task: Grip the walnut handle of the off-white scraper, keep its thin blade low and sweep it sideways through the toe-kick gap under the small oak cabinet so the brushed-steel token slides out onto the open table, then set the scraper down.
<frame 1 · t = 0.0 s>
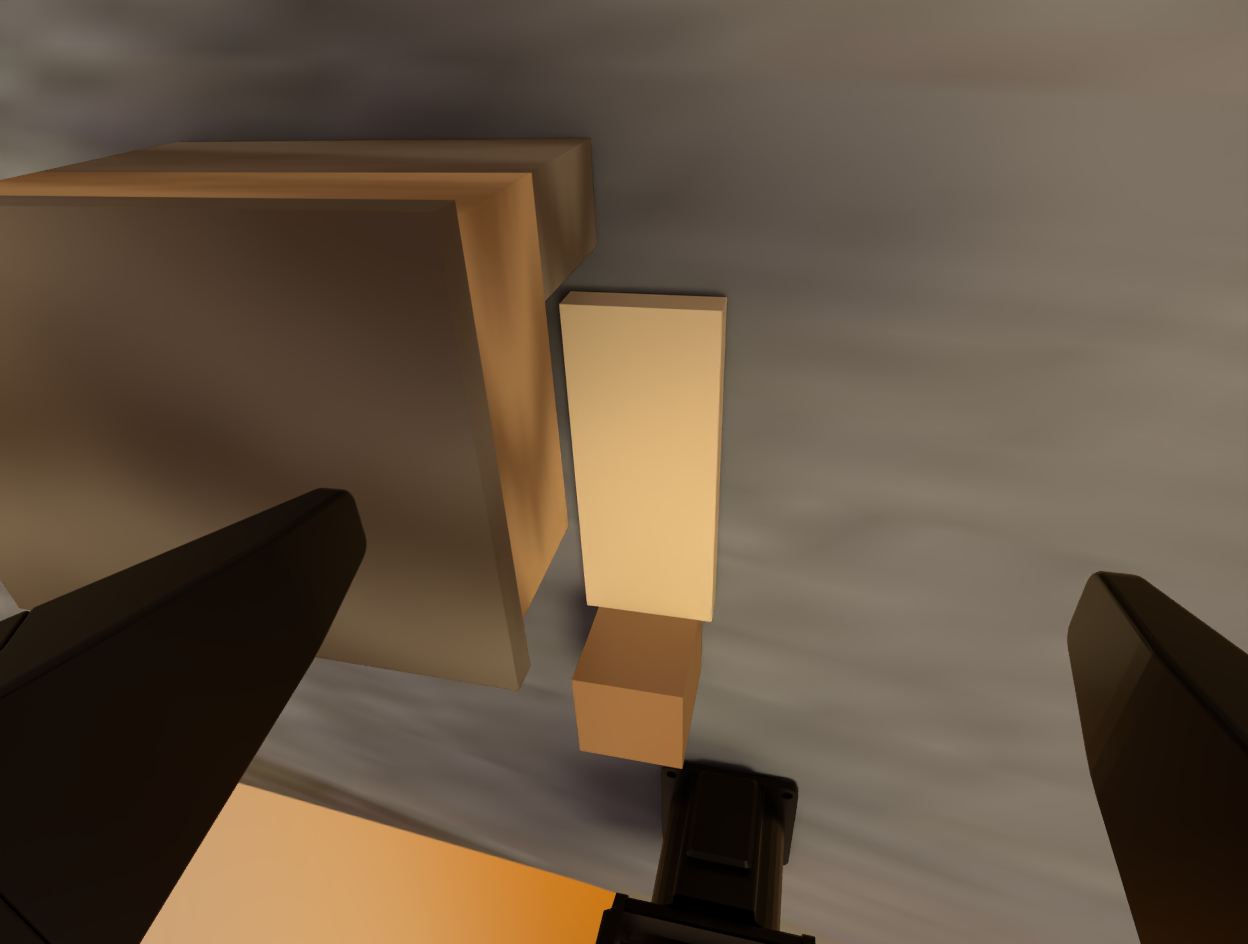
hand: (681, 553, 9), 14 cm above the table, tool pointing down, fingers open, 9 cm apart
cabinet: (402, 300, 24), on the table
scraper: (654, 628, 30), on the table
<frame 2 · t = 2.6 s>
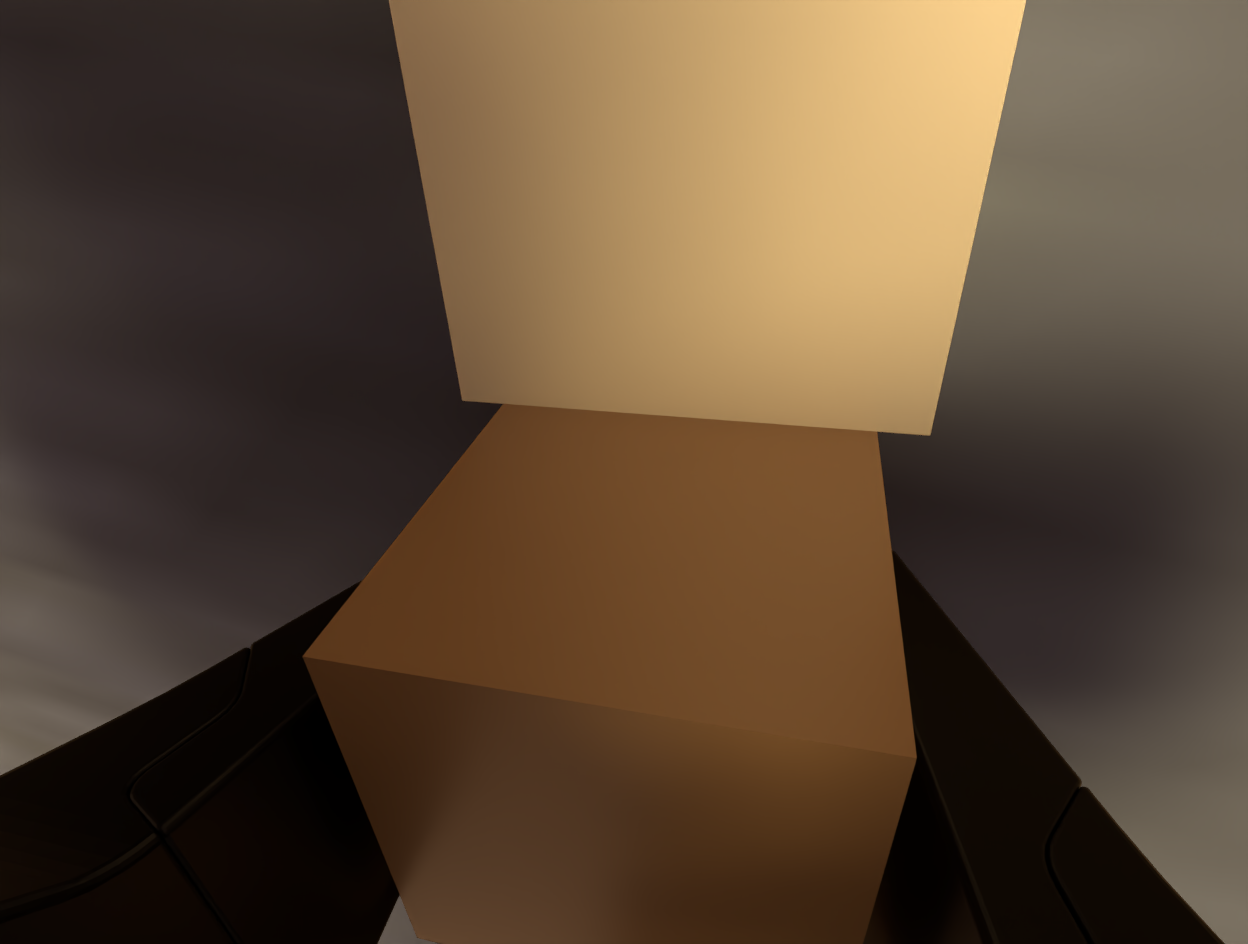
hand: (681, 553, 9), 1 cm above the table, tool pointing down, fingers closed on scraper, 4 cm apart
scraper: (694, 505, 10), on the table, touching gripper
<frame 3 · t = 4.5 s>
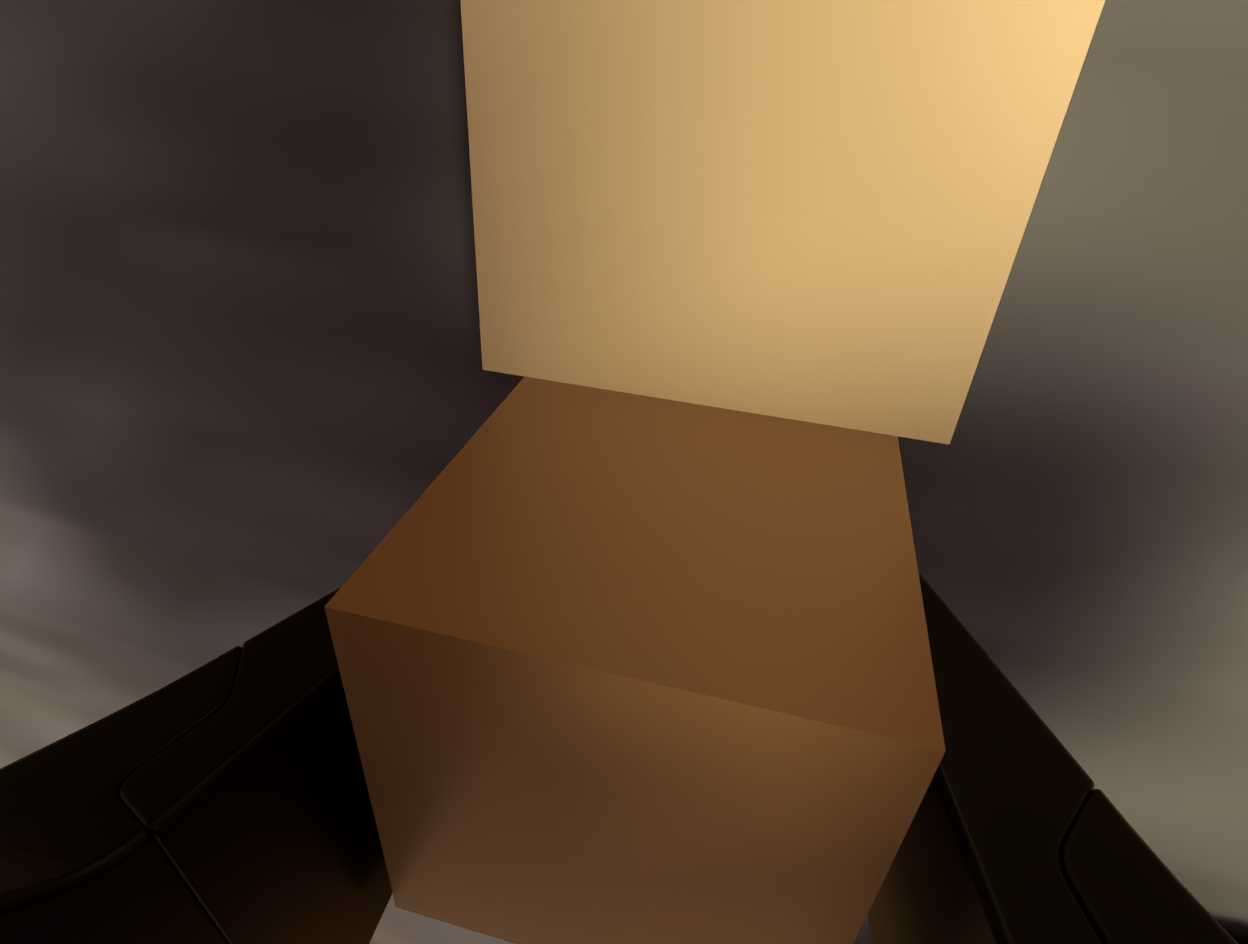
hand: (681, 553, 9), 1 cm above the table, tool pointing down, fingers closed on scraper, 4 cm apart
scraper: (699, 497, 10), on the table, touching gripper
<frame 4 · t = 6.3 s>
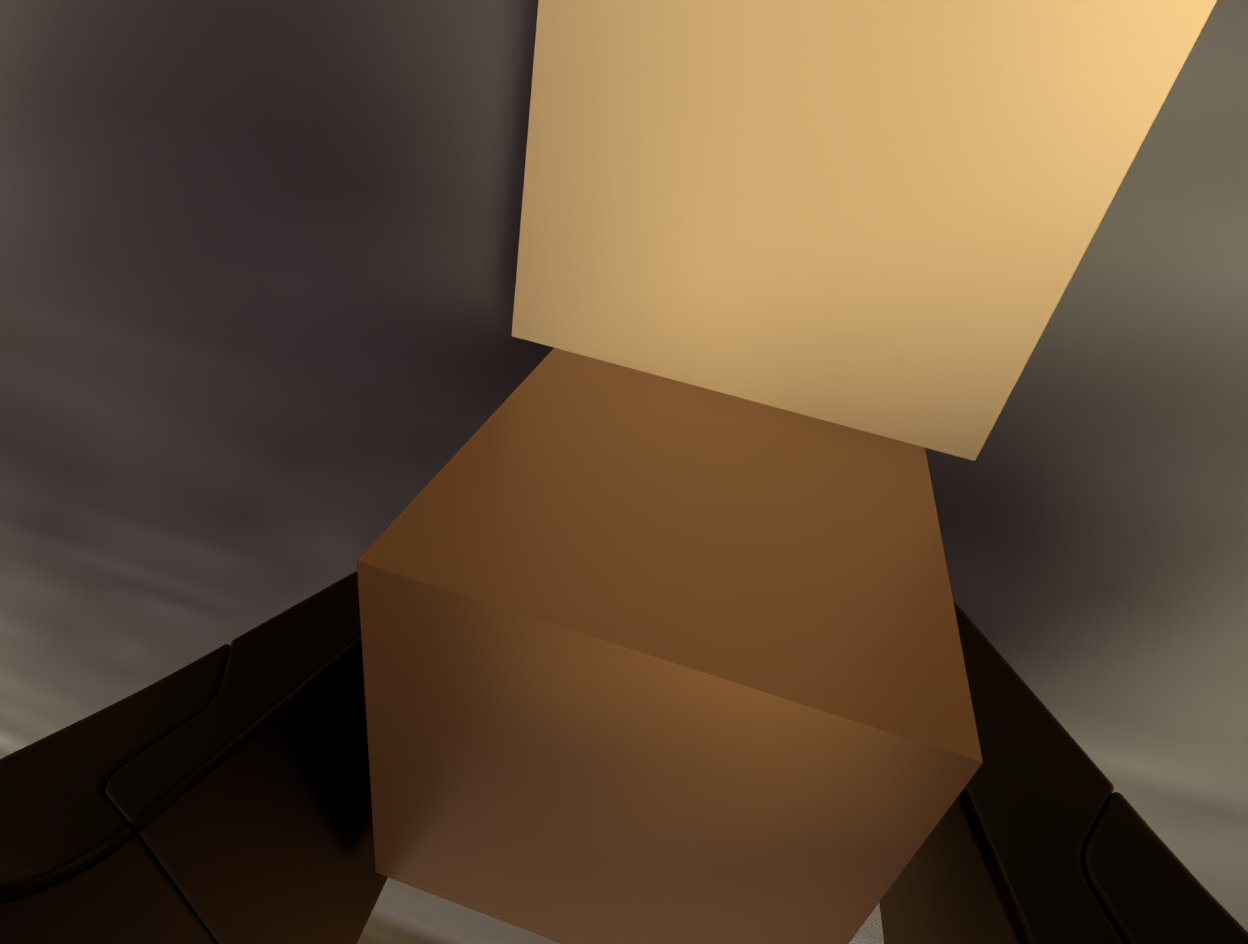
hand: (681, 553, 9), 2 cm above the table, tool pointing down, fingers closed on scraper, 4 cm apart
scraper: (708, 488, 10), on the table, touching gripper
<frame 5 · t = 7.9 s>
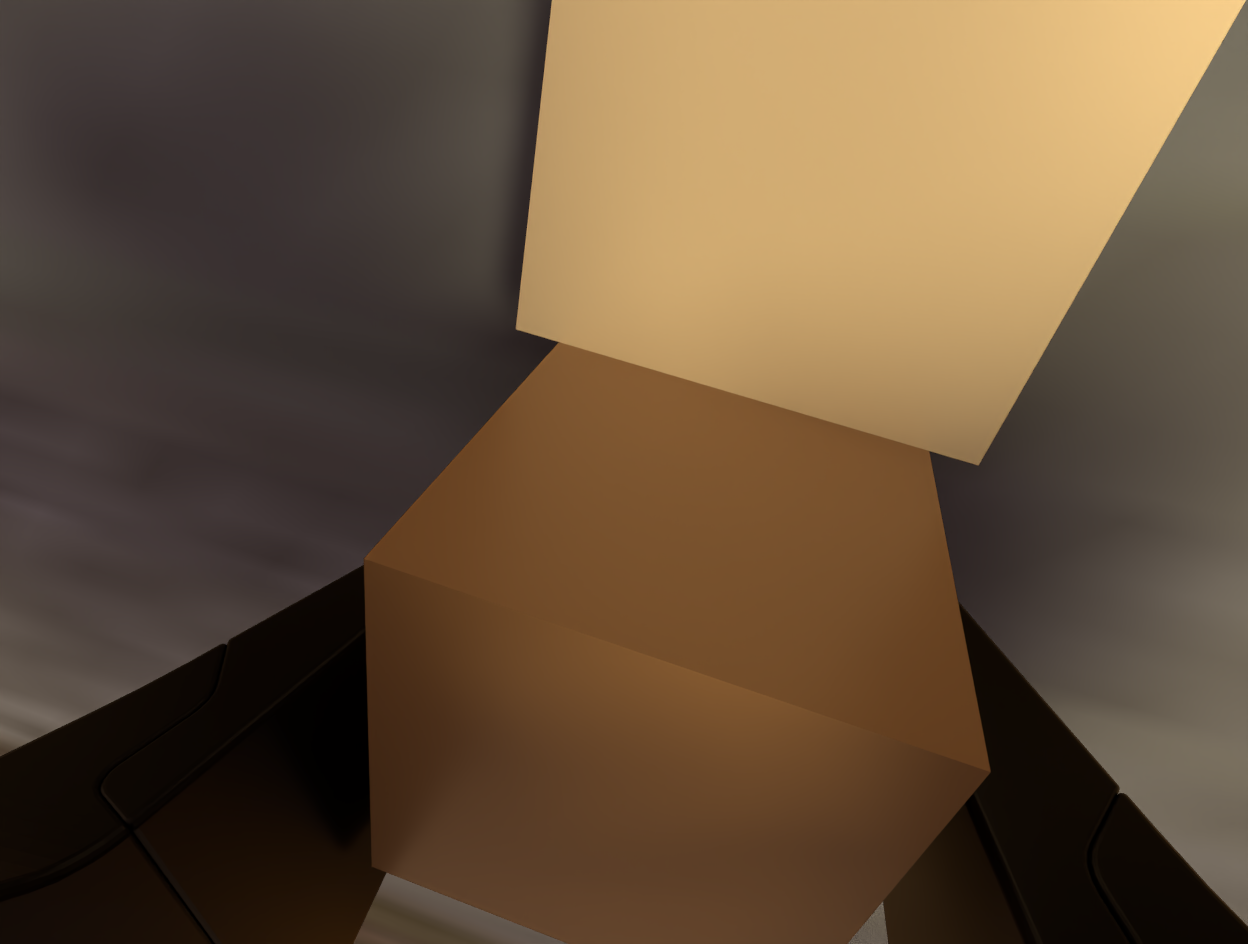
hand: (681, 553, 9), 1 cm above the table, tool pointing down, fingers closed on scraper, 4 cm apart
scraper: (708, 485, 10), on the table, touching gripper
when the fingers open (1 cm above the table, at t = 9.0 s): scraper stays where it is, on the table.
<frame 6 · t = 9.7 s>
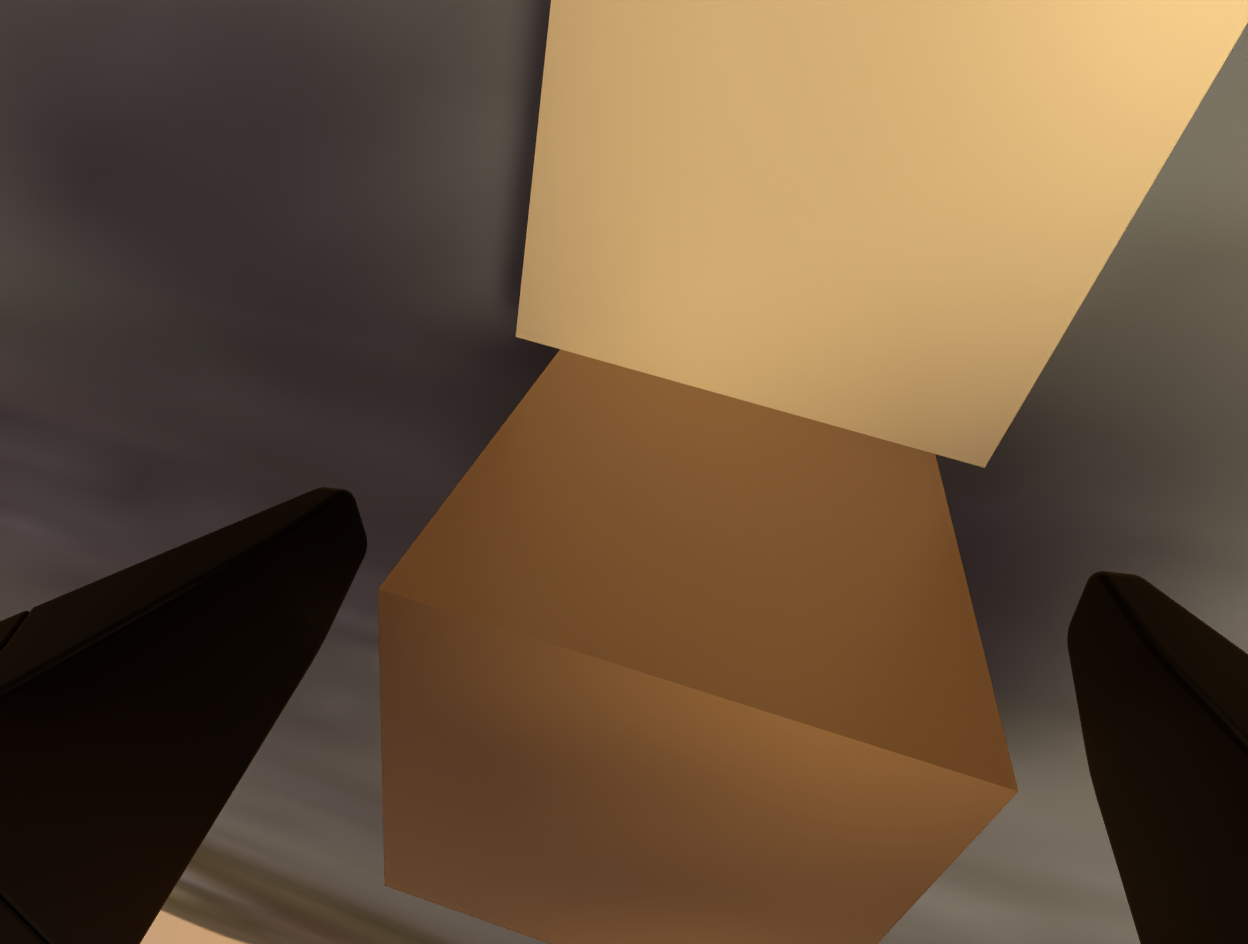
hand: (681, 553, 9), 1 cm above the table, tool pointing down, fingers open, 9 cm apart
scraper: (709, 487, 10), on the table
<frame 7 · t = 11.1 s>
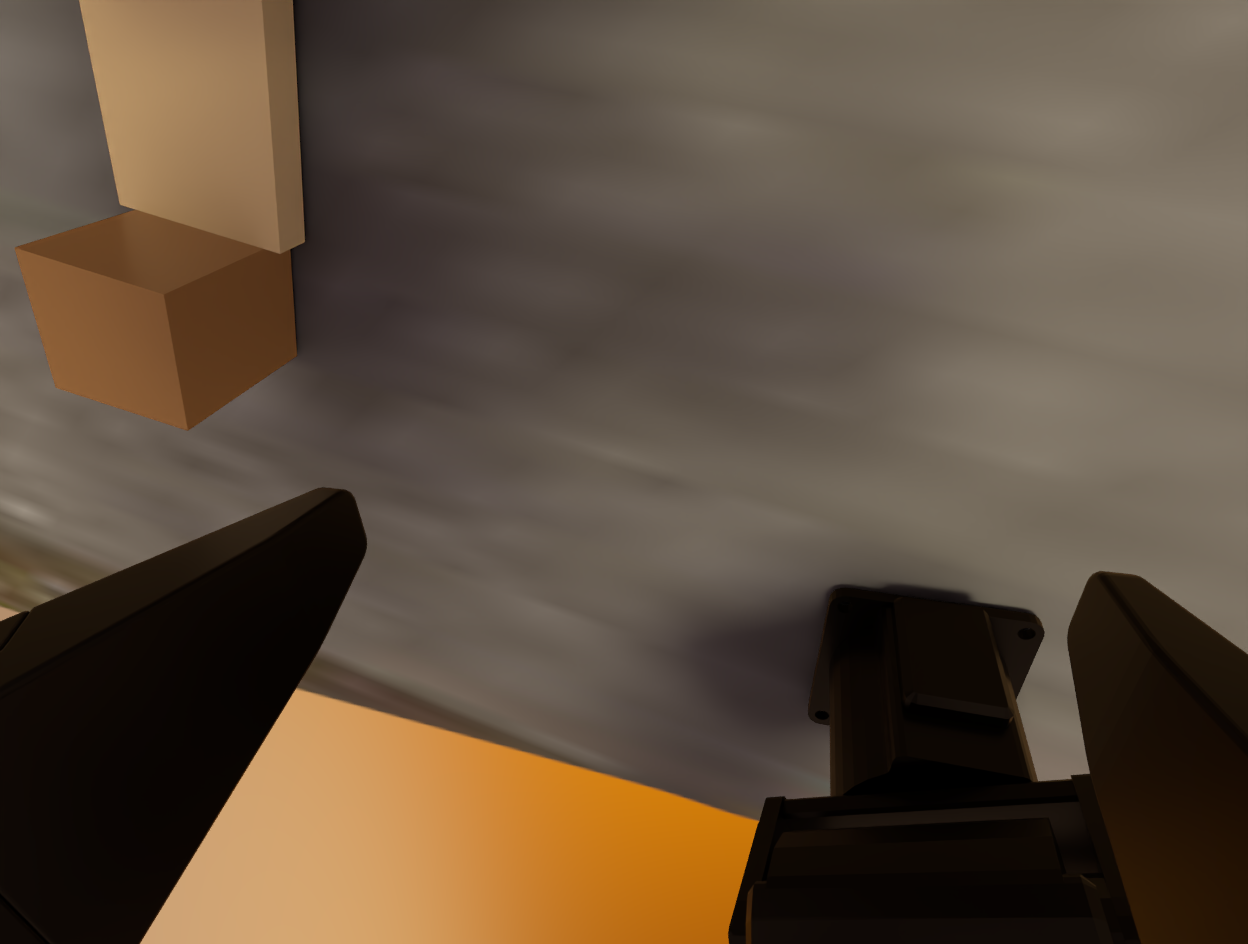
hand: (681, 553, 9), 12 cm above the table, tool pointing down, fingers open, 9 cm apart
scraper: (234, 281, 23), on the table
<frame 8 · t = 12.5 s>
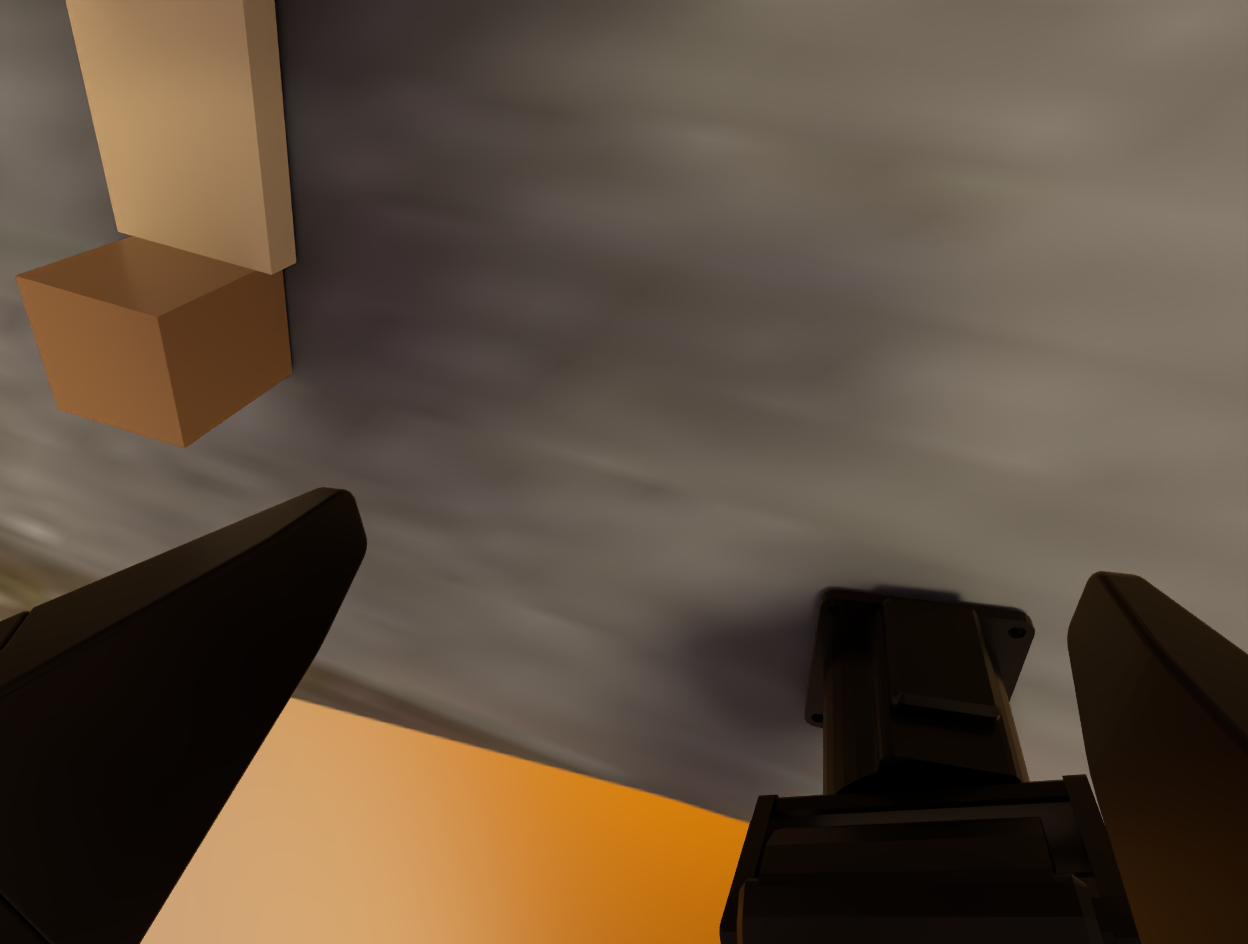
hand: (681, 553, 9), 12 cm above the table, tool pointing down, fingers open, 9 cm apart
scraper: (230, 302, 23), on the table
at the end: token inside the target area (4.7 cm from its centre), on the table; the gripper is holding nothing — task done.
